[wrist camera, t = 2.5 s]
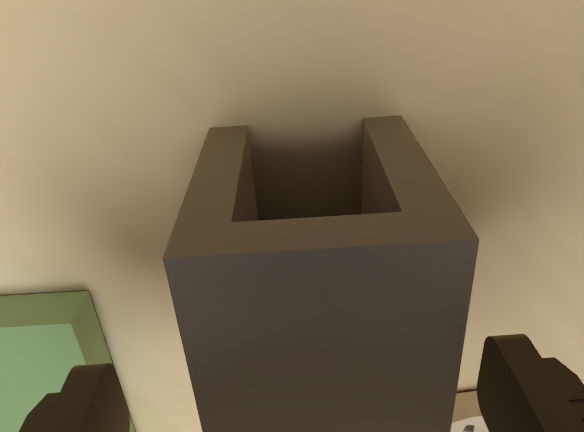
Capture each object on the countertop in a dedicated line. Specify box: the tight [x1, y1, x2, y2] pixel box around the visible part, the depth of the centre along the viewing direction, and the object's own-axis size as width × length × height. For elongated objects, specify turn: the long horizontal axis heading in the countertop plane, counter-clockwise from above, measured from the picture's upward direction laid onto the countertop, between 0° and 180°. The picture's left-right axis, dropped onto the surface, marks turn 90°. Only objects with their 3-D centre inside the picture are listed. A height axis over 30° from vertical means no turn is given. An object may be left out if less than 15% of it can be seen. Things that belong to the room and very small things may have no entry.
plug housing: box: [163, 116, 479, 432], centre depth 13 cm, size 8×5×6 cm, turn 4°
